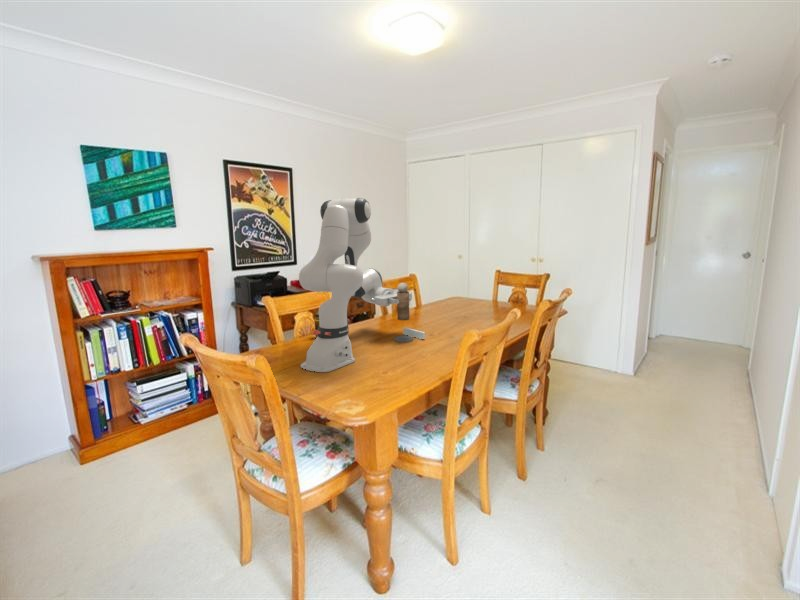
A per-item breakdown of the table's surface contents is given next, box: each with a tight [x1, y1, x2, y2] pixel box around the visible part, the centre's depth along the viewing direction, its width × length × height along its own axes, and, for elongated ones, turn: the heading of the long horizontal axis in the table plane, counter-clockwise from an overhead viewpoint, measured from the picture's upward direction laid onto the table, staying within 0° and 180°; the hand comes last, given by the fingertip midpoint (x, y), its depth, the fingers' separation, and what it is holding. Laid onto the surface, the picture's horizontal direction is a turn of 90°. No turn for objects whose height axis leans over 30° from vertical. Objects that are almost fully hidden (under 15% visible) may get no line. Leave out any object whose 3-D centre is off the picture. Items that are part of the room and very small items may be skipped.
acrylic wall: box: [402, 326, 426, 340], centre depth 193 cm, size 14×1×4 cm, turn 42°
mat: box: [393, 335, 414, 343], centre depth 189 cm, size 9×9×1 cm
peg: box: [396, 282, 410, 322], centre depth 185 cm, size 6×6×18 cm
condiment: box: [314, 312, 320, 338], centre depth 195 cm, size 7×8×12 cm
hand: (404, 300), depth 185 cm, fingers closed on peg, 6 cm apart
